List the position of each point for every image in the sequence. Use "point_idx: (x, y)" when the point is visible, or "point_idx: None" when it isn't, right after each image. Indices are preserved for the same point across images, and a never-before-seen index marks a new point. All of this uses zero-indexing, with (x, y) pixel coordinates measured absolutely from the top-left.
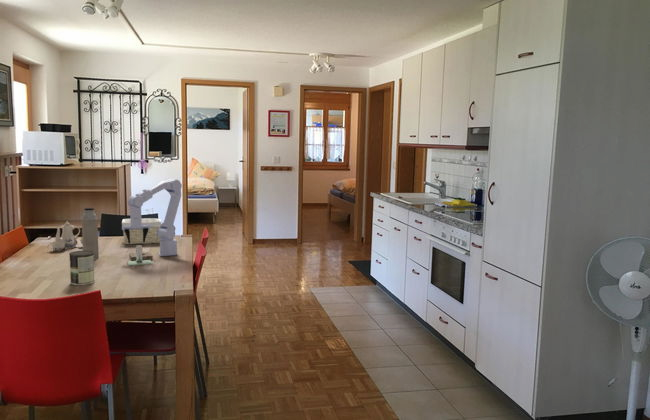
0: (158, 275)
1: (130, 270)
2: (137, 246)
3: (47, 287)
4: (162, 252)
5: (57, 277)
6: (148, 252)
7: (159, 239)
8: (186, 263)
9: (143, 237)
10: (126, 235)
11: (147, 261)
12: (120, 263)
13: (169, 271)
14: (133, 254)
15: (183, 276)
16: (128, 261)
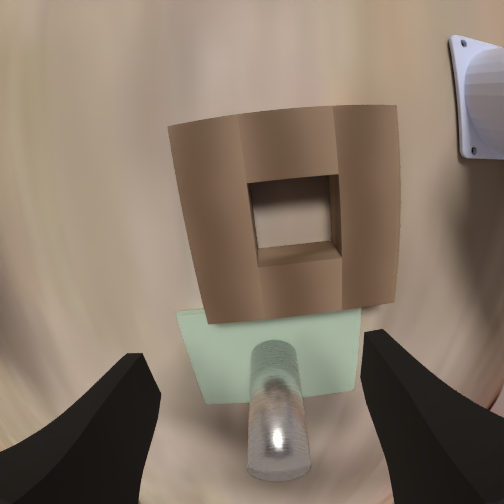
0: (326, 497)
1: (226, 457)
2: (262, 476)
3: None
4: (490, 137)
5: (16, 431)
6: (383, 131)
7: None
8: (492, 377)
9: (386, 422)
10: (52, 435)
11: (332, 352)
12: (139, 328)
13: (377, 472)
14: (217, 199)
15: (389, 496)
16: (189, 325)
